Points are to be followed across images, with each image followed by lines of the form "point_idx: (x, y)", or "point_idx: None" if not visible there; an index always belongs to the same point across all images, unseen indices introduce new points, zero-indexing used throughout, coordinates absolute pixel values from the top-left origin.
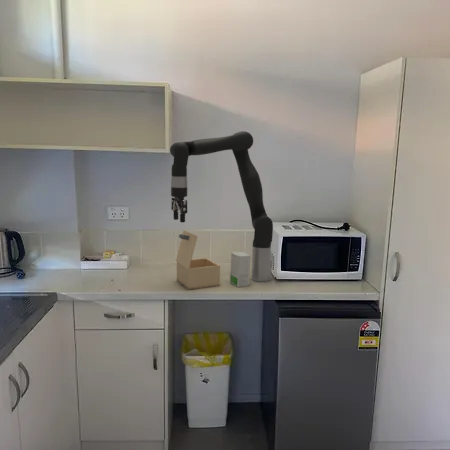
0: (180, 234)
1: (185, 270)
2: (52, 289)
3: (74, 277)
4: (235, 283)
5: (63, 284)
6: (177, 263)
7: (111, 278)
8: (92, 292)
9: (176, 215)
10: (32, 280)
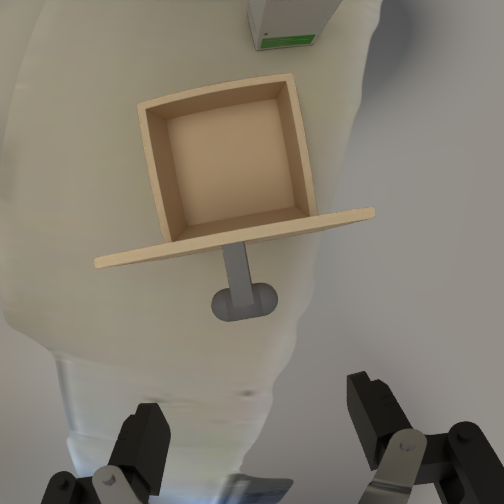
0: (234, 317)
1: None
2: (212, 478)
3: None
4: (298, 43)
5: (182, 467)
6: None
7: (140, 400)
8: (249, 435)
9: (154, 448)
10: None
